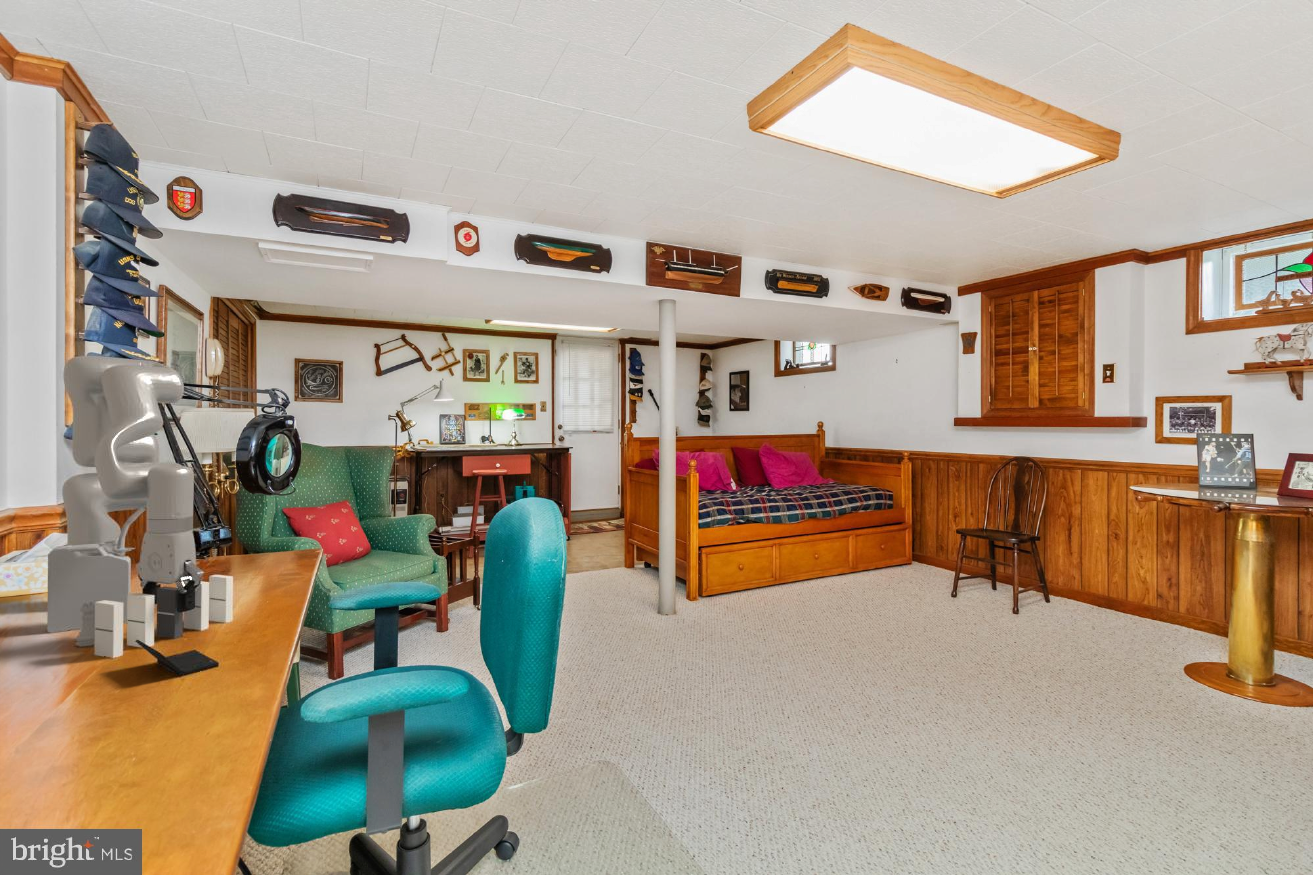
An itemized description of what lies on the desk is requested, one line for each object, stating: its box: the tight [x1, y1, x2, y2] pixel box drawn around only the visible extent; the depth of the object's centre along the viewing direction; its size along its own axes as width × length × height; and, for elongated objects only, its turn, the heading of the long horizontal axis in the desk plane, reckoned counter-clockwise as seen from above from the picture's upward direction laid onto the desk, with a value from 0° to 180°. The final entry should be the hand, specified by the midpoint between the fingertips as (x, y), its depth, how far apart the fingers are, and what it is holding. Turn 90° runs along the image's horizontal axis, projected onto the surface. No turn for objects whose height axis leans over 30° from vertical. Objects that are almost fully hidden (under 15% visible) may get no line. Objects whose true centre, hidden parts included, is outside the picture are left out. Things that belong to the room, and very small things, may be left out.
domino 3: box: [156, 585, 184, 640], centre depth 126 cm, size 2×5×10 cm, turn 74°
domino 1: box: [94, 600, 124, 659], centre depth 115 cm, size 2×5×10 cm, turn 74°
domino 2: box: [126, 592, 155, 649], centre depth 121 cm, size 2×5×10 cm, turn 74°
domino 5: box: [208, 574, 234, 624], centre depth 136 cm, size 2×5×10 cm, turn 74°
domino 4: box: [183, 580, 210, 632], centre depth 131 cm, size 2×5×10 cm, turn 74°
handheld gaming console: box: [135, 639, 220, 678], centre depth 110 cm, size 12×7×10 cm
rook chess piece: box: [75, 602, 95, 648], centre depth 121 cm, size 4×4×8 cm
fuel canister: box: [46, 507, 147, 634], centre depth 133 cm, size 15×5×25 cm, turn 127°
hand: (168, 607), depth 126 cm, fingers open, 9 cm apart
